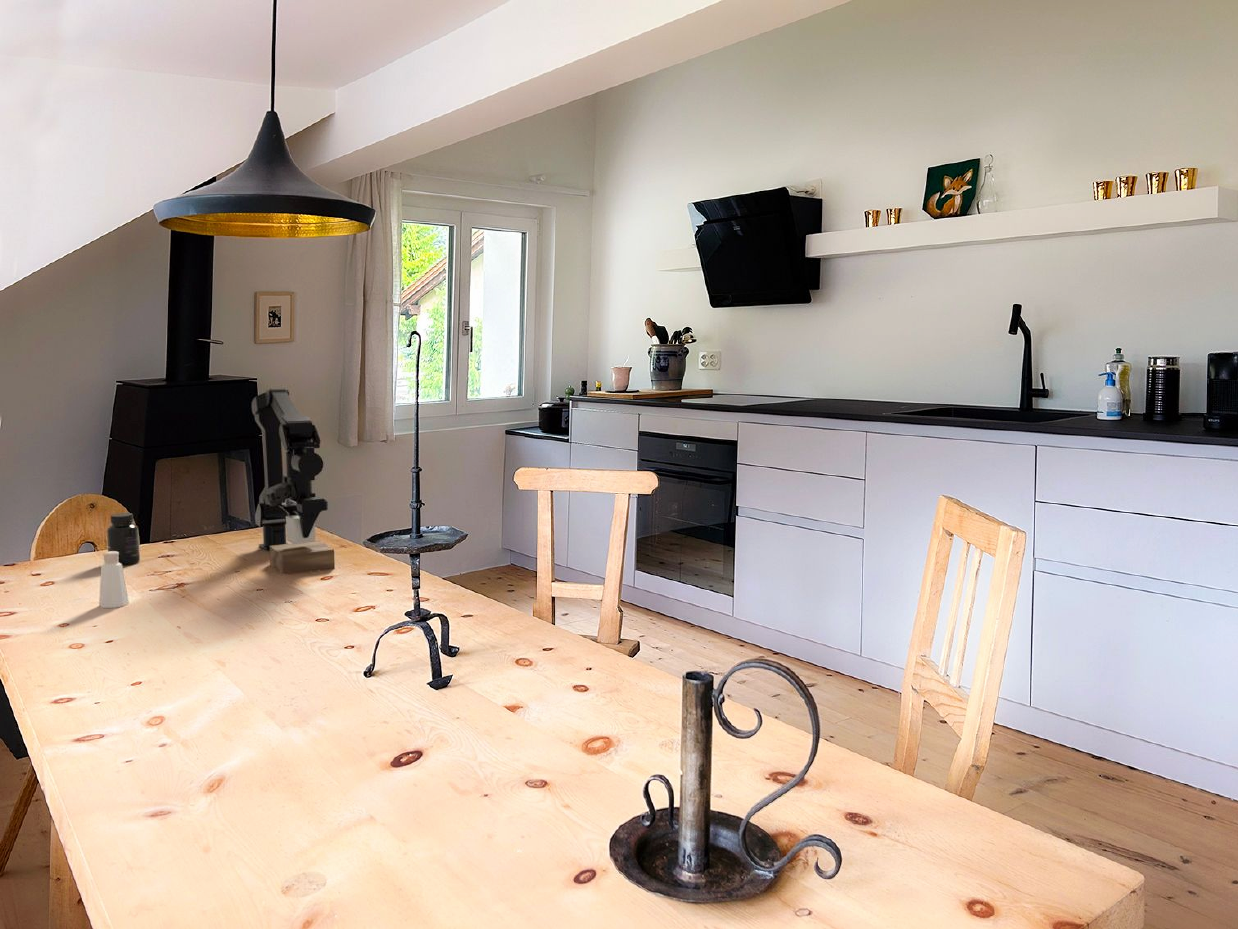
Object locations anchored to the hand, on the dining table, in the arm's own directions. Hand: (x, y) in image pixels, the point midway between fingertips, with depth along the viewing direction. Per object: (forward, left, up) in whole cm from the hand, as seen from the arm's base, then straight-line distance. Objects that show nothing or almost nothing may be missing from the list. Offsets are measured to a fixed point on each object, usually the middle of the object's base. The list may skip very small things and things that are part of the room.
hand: (301, 536), depth 227 cm
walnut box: (0, 0, -8) cm, 8 cm away
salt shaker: (+8, -43, -8) cm, 44 cm away
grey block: (0, 0, -1) cm, 1 cm away
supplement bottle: (-30, -32, -8) cm, 45 cm away
